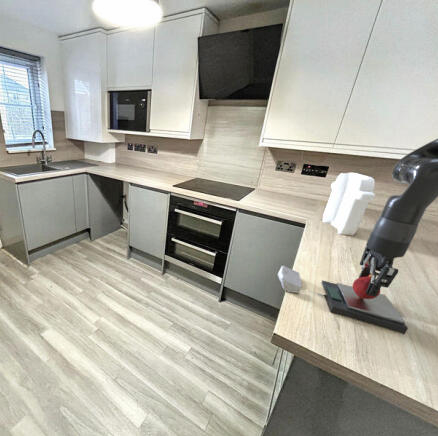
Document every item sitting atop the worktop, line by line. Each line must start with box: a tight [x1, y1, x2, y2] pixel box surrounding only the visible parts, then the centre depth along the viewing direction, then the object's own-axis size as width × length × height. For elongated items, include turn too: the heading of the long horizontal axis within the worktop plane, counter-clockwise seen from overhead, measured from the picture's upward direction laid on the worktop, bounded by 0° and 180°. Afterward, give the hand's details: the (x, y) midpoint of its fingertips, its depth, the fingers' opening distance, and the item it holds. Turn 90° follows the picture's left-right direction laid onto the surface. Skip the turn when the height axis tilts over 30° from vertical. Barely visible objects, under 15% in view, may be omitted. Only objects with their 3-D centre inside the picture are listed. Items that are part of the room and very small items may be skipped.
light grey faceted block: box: [277, 265, 302, 294], centre depth 77 cm, size 10×6×6 cm, turn 149°
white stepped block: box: [322, 172, 376, 236], centre depth 125 cm, size 27×11×30 cm, turn 168°
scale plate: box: [335, 282, 406, 325], centre depth 68 cm, size 12×12×1 cm
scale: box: [321, 280, 409, 335], centre depth 69 cm, size 16×14×2 cm
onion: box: [352, 274, 381, 299], centre depth 67 cm, size 6×6×8 cm
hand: (366, 288), depth 67 cm, fingers closed on onion, 5 cm apart
